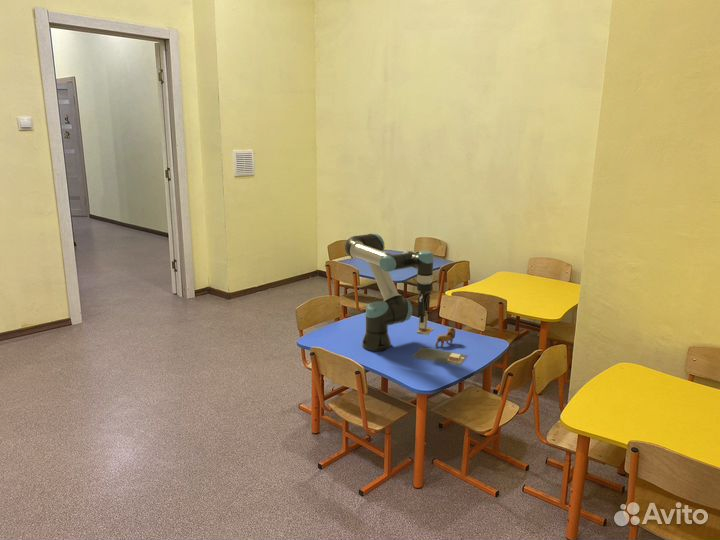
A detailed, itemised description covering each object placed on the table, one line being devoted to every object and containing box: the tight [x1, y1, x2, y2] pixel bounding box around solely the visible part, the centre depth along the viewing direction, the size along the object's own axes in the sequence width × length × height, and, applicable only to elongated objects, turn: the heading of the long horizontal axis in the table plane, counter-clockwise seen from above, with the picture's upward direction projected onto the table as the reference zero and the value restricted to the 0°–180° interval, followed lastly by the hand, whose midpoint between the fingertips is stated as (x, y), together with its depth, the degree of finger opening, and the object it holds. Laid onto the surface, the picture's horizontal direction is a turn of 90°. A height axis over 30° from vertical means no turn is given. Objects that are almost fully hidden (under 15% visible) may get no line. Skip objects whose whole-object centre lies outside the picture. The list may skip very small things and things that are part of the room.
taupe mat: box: [412, 347, 469, 367], centre depth 271 cm, size 25×14×1 cm, turn 65°
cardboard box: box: [416, 310, 435, 336], centre depth 270 cm, size 6×9×11 cm, turn 155°
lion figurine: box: [435, 327, 456, 350], centre depth 285 cm, size 15×5×9 cm, turn 134°
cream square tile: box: [449, 352, 462, 361], centre depth 268 cm, size 5×5×2 cm
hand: (423, 326), depth 271 cm, fingers closed on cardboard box, 3 cm apart
